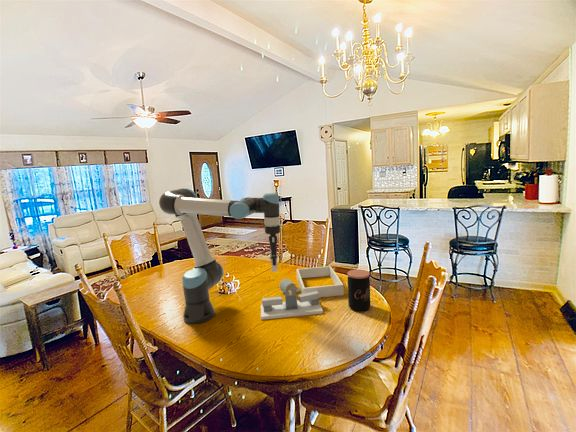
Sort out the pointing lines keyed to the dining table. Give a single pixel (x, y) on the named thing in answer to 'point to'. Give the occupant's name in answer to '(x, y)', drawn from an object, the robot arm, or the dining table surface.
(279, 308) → the white base plate
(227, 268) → the dining table surface
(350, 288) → the coffee jar
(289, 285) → the ceramic mug
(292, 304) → the dark grey block
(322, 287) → the tray
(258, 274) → the dining table surface
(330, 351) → the dining table surface
